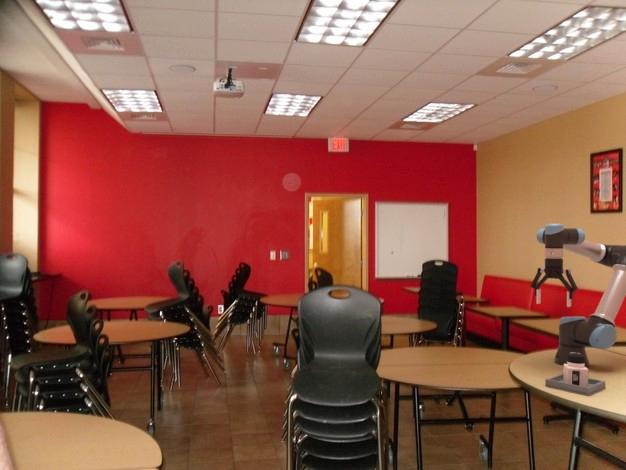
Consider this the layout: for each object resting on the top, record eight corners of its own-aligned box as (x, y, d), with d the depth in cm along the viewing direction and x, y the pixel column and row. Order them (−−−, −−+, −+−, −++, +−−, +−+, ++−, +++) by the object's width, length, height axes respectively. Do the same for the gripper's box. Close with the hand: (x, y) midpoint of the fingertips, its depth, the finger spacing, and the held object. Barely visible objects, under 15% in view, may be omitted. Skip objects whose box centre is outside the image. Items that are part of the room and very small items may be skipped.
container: (588, 388, 222) (588, 356, 222) (567, 386, 223) (568, 354, 223) (582, 383, 229) (583, 352, 229) (563, 382, 231) (563, 350, 231)
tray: (563, 379, 238) (563, 373, 238) (605, 388, 226) (605, 381, 226) (545, 386, 227) (545, 379, 227) (588, 396, 214) (588, 388, 214)
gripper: (523, 257, 255) (522, 303, 255) (579, 259, 237) (579, 308, 237) (530, 256, 260) (530, 301, 260) (586, 258, 242) (585, 307, 243)
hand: (553, 305), depth 249 cm, fingers open, 13 cm apart
